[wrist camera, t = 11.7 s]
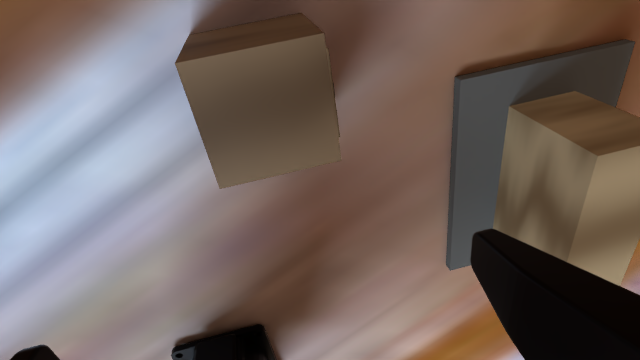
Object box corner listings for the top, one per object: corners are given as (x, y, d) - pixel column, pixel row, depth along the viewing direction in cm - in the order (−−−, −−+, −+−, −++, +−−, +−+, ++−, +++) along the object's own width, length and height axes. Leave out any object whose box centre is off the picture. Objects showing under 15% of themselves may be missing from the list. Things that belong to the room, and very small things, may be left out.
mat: (571, 231, 28) (577, 236, 28) (446, 264, 27) (450, 270, 27) (625, 39, 21) (635, 41, 20) (455, 76, 20) (460, 80, 19)
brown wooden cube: (324, 114, 20) (349, 158, 15) (222, 136, 19) (219, 188, 15) (308, 11, 17) (333, 31, 13) (189, 34, 16) (175, 63, 12)
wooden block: (544, 226, 26) (617, 291, 21) (491, 240, 26) (552, 310, 21) (575, 91, 21) (682, 135, 16) (508, 106, 21) (597, 156, 16)
